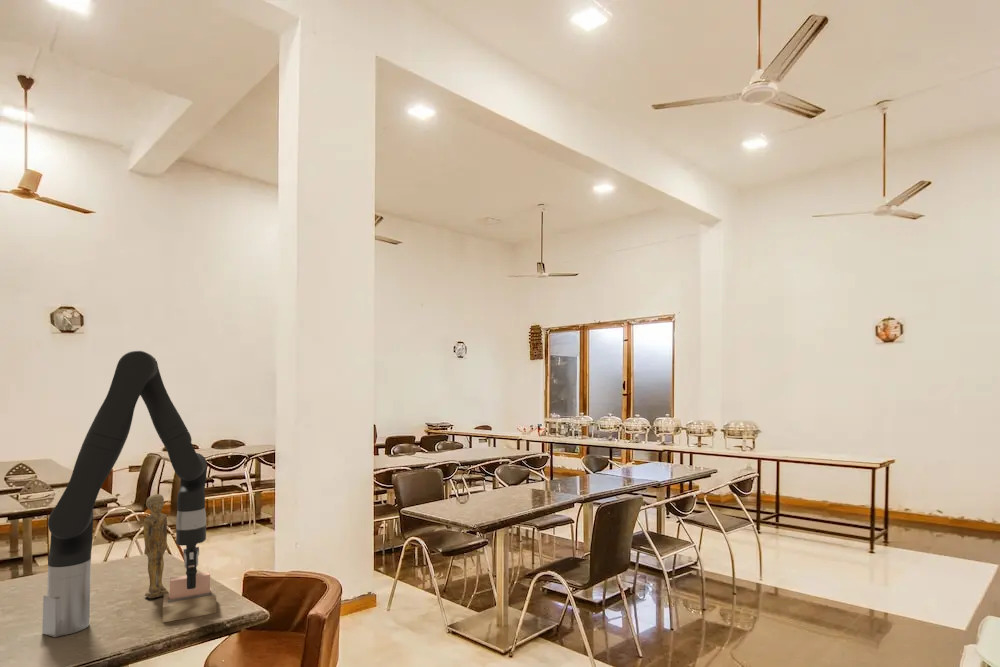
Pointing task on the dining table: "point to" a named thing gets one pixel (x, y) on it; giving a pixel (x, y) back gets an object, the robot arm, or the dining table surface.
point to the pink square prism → (180, 586)
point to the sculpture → (155, 544)
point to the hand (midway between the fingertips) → (191, 583)
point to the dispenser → (189, 606)
